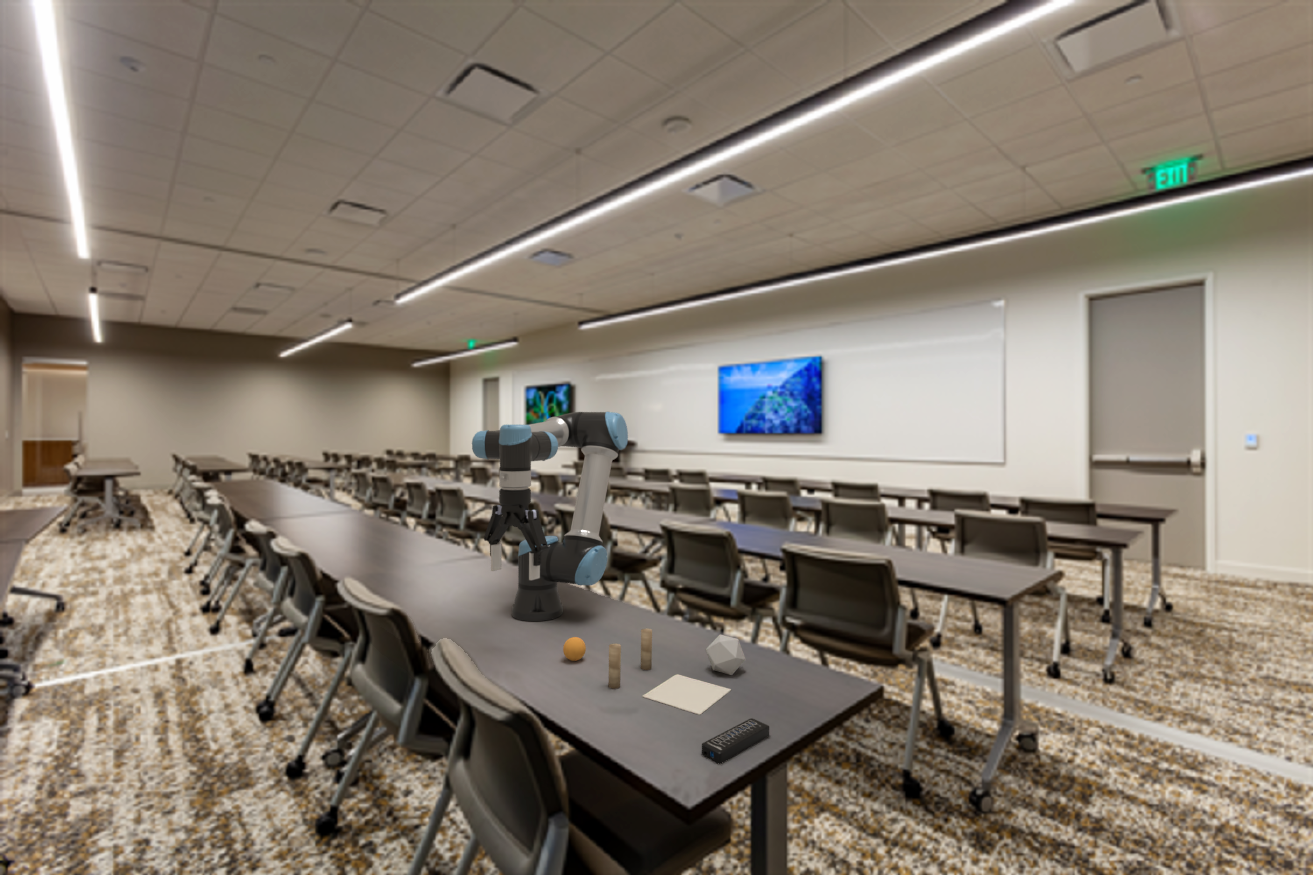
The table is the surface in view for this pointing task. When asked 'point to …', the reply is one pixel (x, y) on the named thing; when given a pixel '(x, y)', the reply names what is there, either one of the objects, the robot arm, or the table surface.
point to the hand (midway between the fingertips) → (514, 574)
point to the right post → (646, 649)
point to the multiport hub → (735, 740)
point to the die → (725, 654)
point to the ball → (574, 648)
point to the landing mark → (687, 694)
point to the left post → (614, 665)
